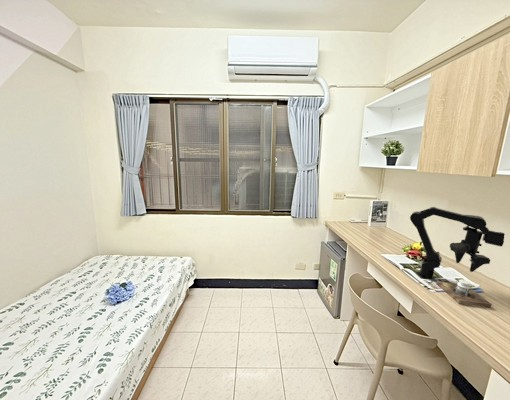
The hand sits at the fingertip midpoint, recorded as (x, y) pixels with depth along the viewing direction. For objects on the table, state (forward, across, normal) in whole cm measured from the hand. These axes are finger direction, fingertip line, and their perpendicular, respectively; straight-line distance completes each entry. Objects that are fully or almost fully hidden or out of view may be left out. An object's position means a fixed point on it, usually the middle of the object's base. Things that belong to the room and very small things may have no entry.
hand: (464, 267), depth 118 cm
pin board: (+12, +8, -4) cm, 15 cm away
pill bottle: (+12, +9, -5) cm, 16 cm away
